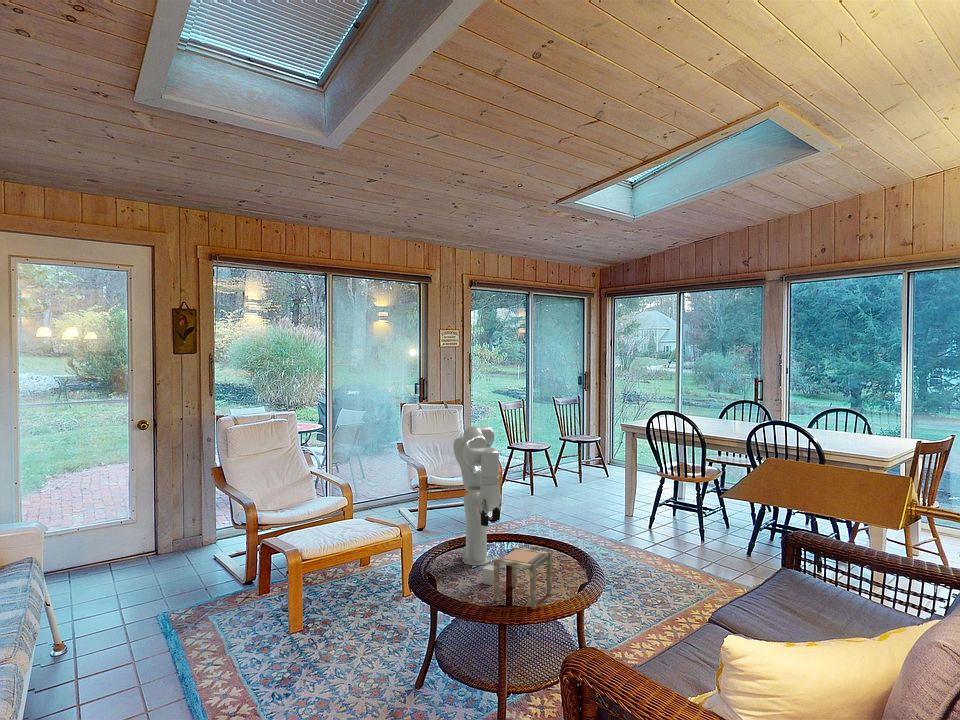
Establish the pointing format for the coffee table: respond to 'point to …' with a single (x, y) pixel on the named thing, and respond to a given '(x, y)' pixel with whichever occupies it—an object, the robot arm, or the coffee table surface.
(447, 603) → the coffee table surface
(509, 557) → the trapdoor
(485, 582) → the smooth gray block
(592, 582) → the coffee table surface
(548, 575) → the trapdoor frame
